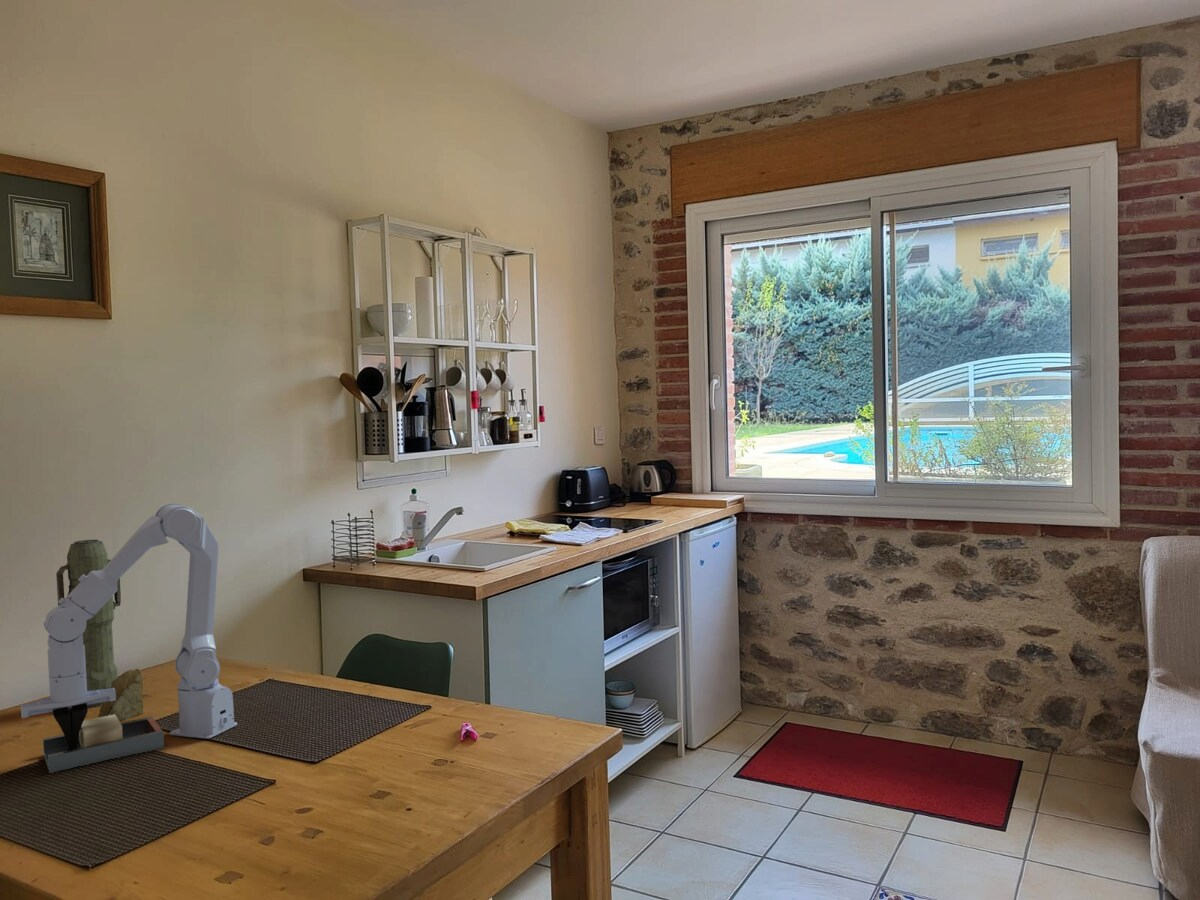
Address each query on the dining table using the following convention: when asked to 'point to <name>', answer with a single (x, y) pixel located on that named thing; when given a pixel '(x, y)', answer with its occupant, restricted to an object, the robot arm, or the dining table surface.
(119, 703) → the rock
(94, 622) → the thermos
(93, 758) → the chute
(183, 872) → the dining table surface
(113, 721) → the block
